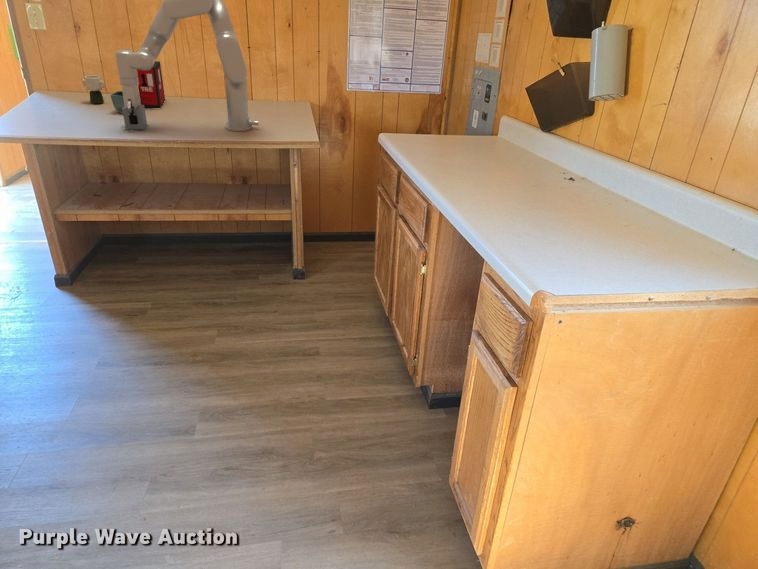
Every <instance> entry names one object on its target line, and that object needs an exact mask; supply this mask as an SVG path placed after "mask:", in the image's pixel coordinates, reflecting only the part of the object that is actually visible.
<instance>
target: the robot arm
mask: <svg viewBox="0 0 758 569" xmlns="http://www.w3.org/2000/svg"><path fill="white" fill-rule="evenodd" d="M205 14H206V15H207V17H208V19H209V21H210V24H211V28H212V30H213V33H214V38H215V44H216V49H217V53H218V57H219V60H220V62H221V63H220V64H221V66H222V69H223V73H224V81H225V82H224V83H225V85H224V86H225V97H226V98H225V99H226V108H227V109H226V111H227V123H226V124H225V125H224V128H225V129H226V130H228V131H233V132H247V130H248V131H250V130H252V129H253V126H259V121H258V120H256V119H251V118H250V116H249V105H248V104H249V103H248V102H249V99H248V86H247V85H248V84H247V82H248V81H247V75H248V71H247V67H246V64H245V60H244V56H243V53H242V49H241V46H240V42H239V40H238V38H237V35H236V33H235V30H234V26H233V23H232V20H231V17H230V14H229V11H228V9H227V7H226V4H225V3H224V2H223V1H222V0H162V2H161V5H160V6H159V8H158V11H157V12H156V14H155V16H154V17H153V20H152V21H151V23H150V25H149V27H148V32H147V34H146V37H145V38H144V39H143V41H142V44H141V46H140V47H139V49H138V51H137V52H136V51H135V52H134V51H132V50H130V49H118V50H116V51H115V53H114V55H115V61H116V62H115V63H116V67H117V71H118V78H119V84H120V85H121V87H122V90H121V91H123V99H124V107H125V109H127V108H128V115H129V120H130V124H138V121H137V115H136V112H135V109H137V108H138V106H139V105H141V101H140V95H139V88H138V85H139V80H138V74H137V69H139V70H150V69H151V68H152V67H153V65H154V63H155V61H157V59H158V57H159V55H160V53H161V51H162V50H163V48H164V46H165V44H166V43H168V41H169V40H170V38H171V36H172V35H173V33H174V31H175V30H176V27H177V25H178V24H179V22H180V20H182V19H187V18H191V17H196V16H197V17H198V16H203V15H205ZM131 107H134V108H131ZM133 110H134V112H133Z"/></svg>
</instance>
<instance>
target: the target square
mask: <svg viewBox="0 0 758 569" xmlns="http://www.w3.org/2000/svg"><path fill="white" fill-rule="evenodd" d="M149 127H150V124H147V126H146V127H145V129H126V127H125V128H124V129H123V130H124V131H130V130H142V131H141V132H144V131H145V132H146V130H148V128H149Z"/></svg>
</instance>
